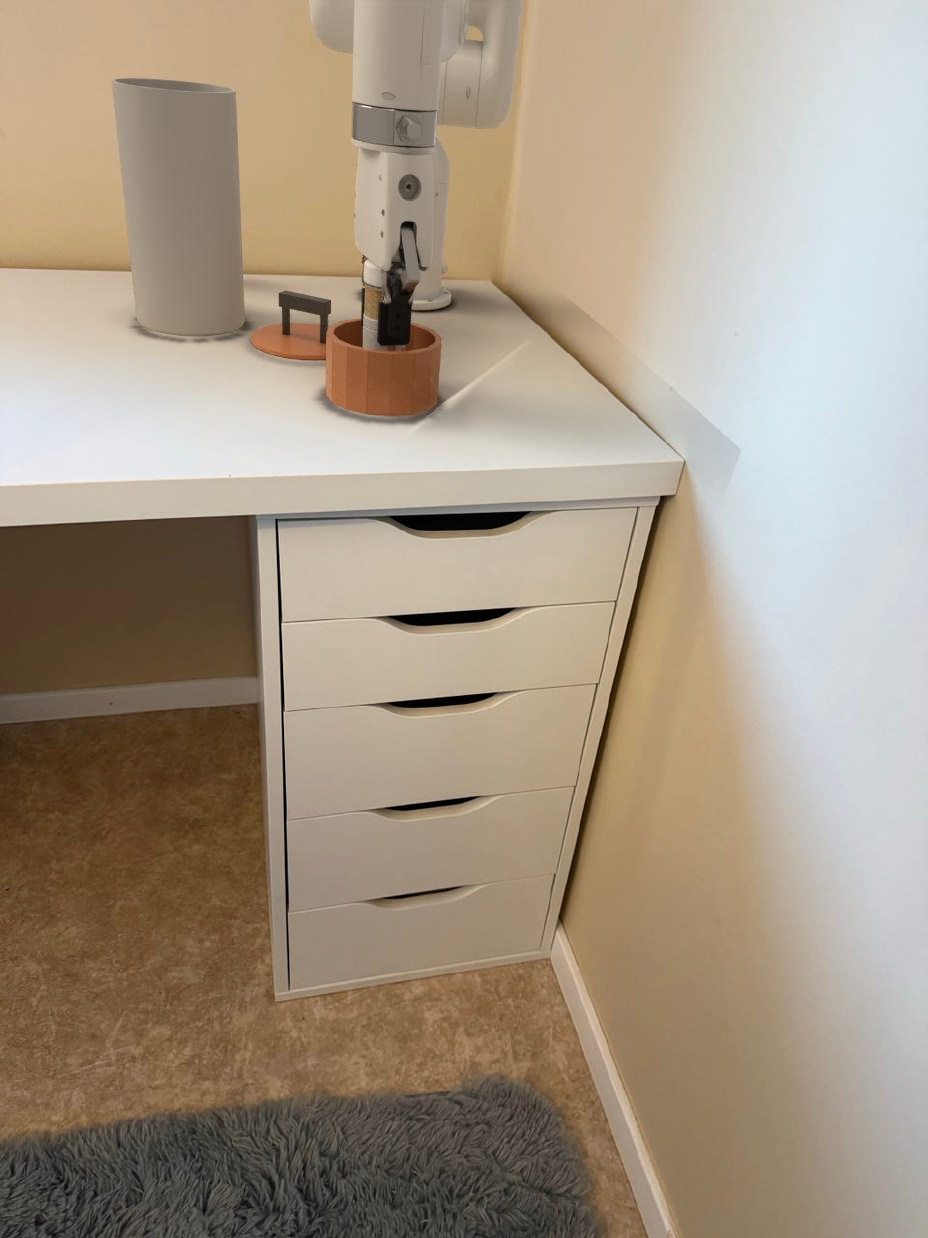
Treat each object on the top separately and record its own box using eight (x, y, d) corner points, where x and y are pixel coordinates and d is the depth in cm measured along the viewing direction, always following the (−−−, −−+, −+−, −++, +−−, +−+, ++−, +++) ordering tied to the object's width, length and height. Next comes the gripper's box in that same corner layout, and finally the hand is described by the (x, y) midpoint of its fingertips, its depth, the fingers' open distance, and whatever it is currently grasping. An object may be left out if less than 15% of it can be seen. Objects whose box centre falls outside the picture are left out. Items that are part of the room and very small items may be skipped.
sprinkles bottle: (412, 402, 93) (420, 266, 86) (373, 407, 91) (378, 268, 83) (390, 387, 96) (396, 254, 89) (352, 392, 94) (355, 256, 86)
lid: (287, 325, 112) (286, 276, 109) (375, 345, 109) (377, 295, 105) (230, 350, 102) (227, 297, 99) (325, 372, 99) (325, 318, 96)
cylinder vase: (114, 327, 105) (85, 78, 91) (176, 304, 115) (158, 76, 101) (209, 347, 102) (193, 94, 88) (264, 321, 112) (257, 90, 98)
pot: (358, 374, 100) (360, 311, 96) (453, 396, 96) (459, 332, 93) (305, 404, 90) (305, 336, 87) (408, 430, 87) (412, 361, 84)
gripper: (470, 145, 75) (451, 362, 85) (402, 120, 87) (392, 311, 98) (384, 141, 72) (375, 365, 82) (326, 115, 85) (325, 312, 95)
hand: (384, 334), depth 90 cm, fingers closed on sprinkles bottle, 4 cm apart
